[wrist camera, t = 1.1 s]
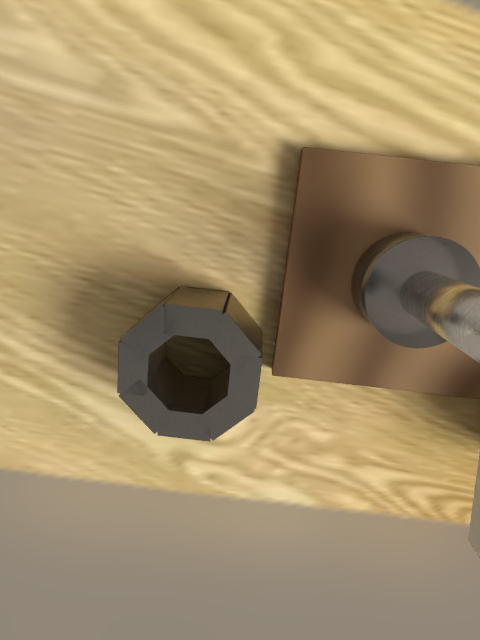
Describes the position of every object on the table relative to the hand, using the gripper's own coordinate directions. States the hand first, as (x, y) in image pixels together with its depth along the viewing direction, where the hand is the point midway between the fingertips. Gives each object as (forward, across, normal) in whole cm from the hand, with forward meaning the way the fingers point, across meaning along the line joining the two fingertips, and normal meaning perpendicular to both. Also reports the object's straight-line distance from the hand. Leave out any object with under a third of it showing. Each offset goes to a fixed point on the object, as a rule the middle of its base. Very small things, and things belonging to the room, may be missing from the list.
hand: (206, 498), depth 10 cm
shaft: (+16, +10, +2) cm, 19 cm away
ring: (+18, -2, -2) cm, 18 cm away
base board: (+17, +10, +2) cm, 20 cm away
